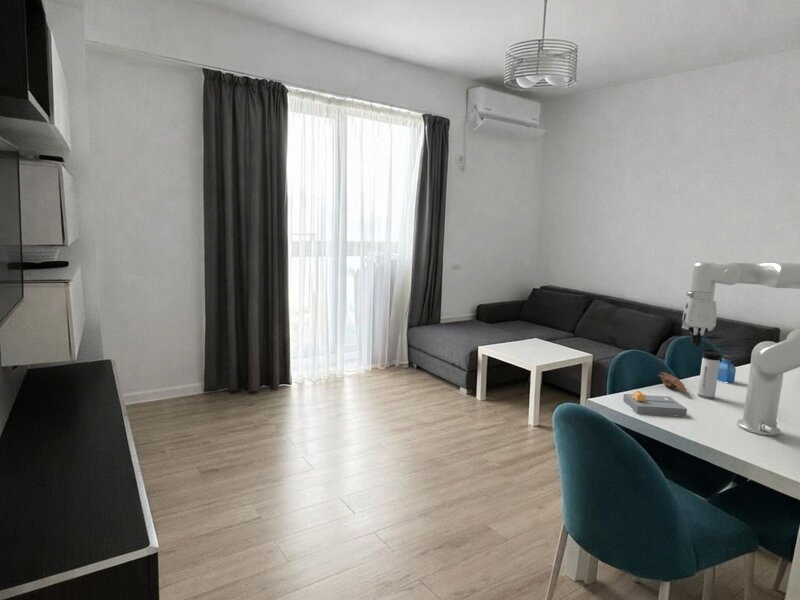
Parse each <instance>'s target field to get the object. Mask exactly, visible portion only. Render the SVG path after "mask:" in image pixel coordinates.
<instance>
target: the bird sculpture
mask: <svg viewBox="0 0 800 600" xmlns="http://www.w3.org/2000/svg"><path fill="white" fill-rule="evenodd" d="M657 376H658V377H660V380H661V381H662V383H663V385H664V386H665V387H668V388H672V387H673V388H678V389H680V390H681V391H682V392H684V393H686V392H688V390H687V388H686V387H685V384H684V383H683V382H682V381H681V379H679V378H678V377H676V376H674V375H672V374H669V373H668V372H666V371H662V372H660V374H658V375H657Z"/></svg>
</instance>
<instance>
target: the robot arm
mask: <svg viewBox="0 0 800 600" xmlns="http://www.w3.org/2000/svg"><path fill="white" fill-rule="evenodd" d="M692 269H693V270H692V276H691V285H690V290H689V292H688V291H687V292H686V297H689V298H687V300H686V302H685V306H684V309H683V313H682V320H681V321H682V326H681V329H683V330H687V331H688V332H689V333H690V334H691V335H690V344H691V345H692V346H694V347H700V346H701V343H702V338H703V336H704V334H705V333H707V332H711V331H713V330H714V328H715V327H716V325H717V302H716V300H714V297H715V291H716V284H721V285H726V286H733V285H736V284H745V285H746V284H747V285H748V284H749V285H760V286H765V287H768V288H769V287H770V288H775V289H792V290H793V289H797V290H800V263H794V262H793V263H792V262H791V263H790V262H789V263H788V262H787V263H786V262H770V263H769V262H768V263H767V262H766V263H750V262H749V263H748V262H726V263H723V264H722V263H720V264H718V263H717V264H716V263H714V262H707V261H706V262H705V261H704V262H703V261H698V262H696V263H694V264H693V268H692ZM753 347H754V348H753V349H752V350H751V356H750V364H749V365H750V367H749V375H748V383H747V389H746V395H745V402H744V407H743V408H744V409H743V415H742V419H738V420H736V425H737V426H738V427H739V428H740V429H742V430H744V431H747V432H751V433H753V434H758V435H762V436H763V435H764V436H778V435H780V434H781V429H780V428H779V427H777V425H778V422H777V417H778V412H779V405H780V398H781V393H782V387H783V380H784V374H785V373H787V372H790V371H793V370H795V369H798V368H800V328H797V329H794V330H792V331H791V332H789V333H788V335H787V336H786V339H784V340H782V341H779V342H775V341H768V340H765V341H761V342H759V343H757V344H756V345H755V346H753Z"/></svg>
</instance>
